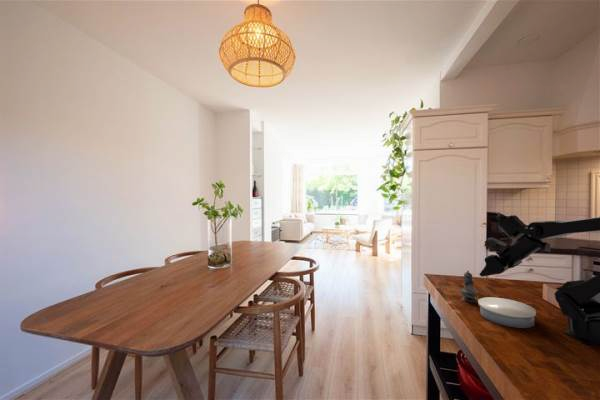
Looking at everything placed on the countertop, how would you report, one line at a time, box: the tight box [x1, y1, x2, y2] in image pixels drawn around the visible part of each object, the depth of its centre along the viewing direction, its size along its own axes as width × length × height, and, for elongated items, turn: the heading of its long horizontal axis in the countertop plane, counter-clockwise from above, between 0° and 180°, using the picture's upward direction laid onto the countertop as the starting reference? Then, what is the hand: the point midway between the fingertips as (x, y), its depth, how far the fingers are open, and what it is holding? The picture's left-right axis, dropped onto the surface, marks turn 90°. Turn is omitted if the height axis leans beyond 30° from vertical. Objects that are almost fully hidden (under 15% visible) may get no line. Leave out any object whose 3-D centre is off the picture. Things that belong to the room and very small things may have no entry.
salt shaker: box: [460, 270, 479, 304], centre depth 97 cm, size 6×6×12 cm
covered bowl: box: [477, 296, 537, 329], centre depth 82 cm, size 15×15×4 cm
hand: (485, 273), depth 92 cm, fingers open, 9 cm apart
